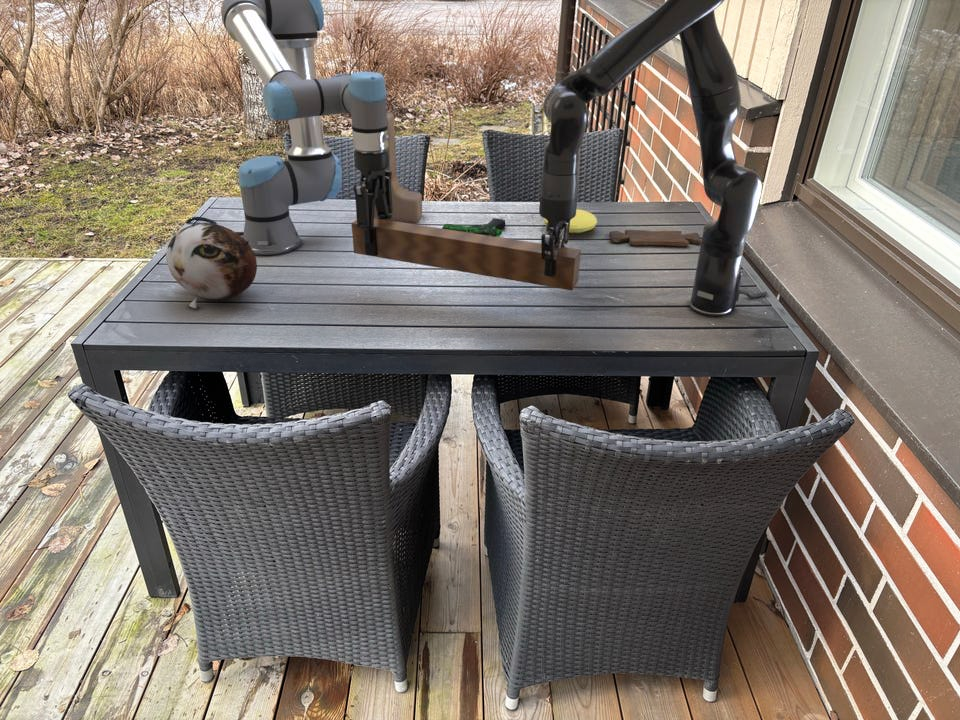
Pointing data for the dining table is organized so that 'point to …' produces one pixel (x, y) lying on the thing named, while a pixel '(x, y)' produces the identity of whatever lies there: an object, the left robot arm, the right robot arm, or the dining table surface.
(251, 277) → the cat face ball toy
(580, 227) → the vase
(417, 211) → the decorative block
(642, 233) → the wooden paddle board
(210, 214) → the dining table surface
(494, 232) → the handgun
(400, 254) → the bar
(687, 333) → the dining table surface
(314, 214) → the dining table surface
